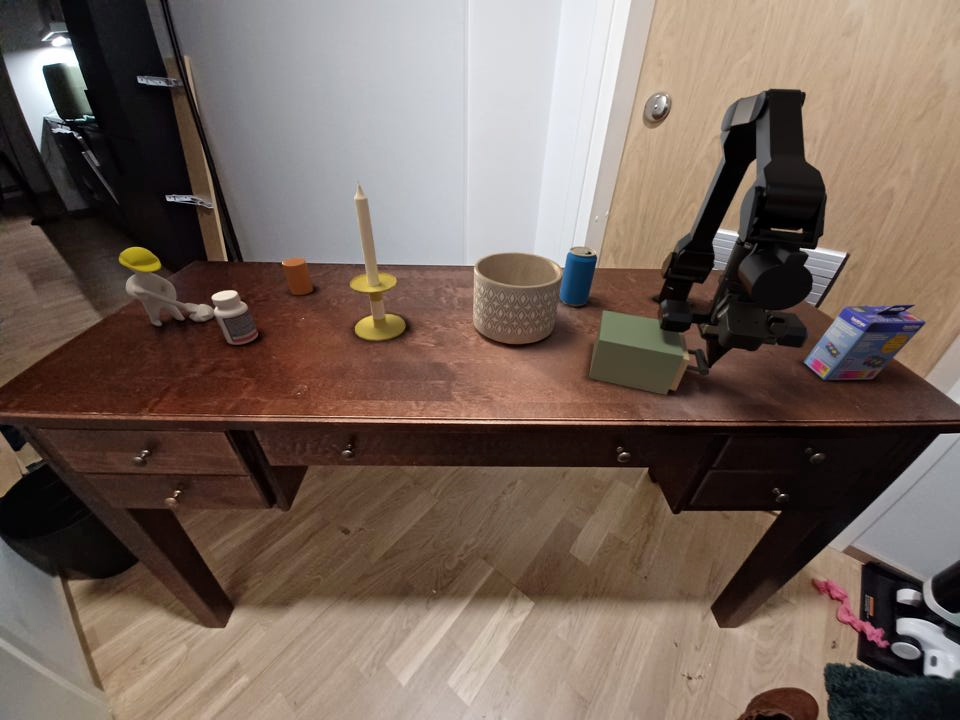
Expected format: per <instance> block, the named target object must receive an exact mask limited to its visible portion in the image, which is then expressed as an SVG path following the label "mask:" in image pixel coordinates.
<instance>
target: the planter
mask: <svg viewBox="0 0 960 720" xmlns="http://www.w3.org/2000/svg"><path fill="white" fill-rule="evenodd" d="M563 274H564V269H562V267H561V266H560V265H559V264H558V263H557V262H556V261H554V260H551V259H550V258H547V257H544V256H541V255H538V254H533V253H526V252H517V251H516V252H514V251H511V252H510V251H509V252H508V251H507V252H498V253H497V252H496V253H492V254H488V255H485V256H483V257H481V258H480V259H478V260H477V261H476V262H475V263H474V267H473V304H472V305H473V307H472V308H473V309H472V323H473V326H474V327H475V329H476V330H477V331H478V332H479V333H480V334H481V335H483V336H485V337H486V338H489V339H491V340H493V341H496V342H499V343H503V344H509V345H525V344H531V343H536V342H538V341H541V340H543V339H545V338H547V337H548V336H550V335H551V333H552V332H553V331H554V327H555V322H556V315H557V311H558V304H559V300H560V291H561V285H562V280H563Z"/></svg>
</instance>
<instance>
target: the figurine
mask: <svg viewBox="0 0 960 720" xmlns="http://www.w3.org/2000/svg"><path fill="white" fill-rule="evenodd" d="M118 262H119V264H121V265H122V266H124V267H126V268H128V270H130V271H132V272H133V273H135V274H133V275H131V276H129V278H128V279H127V280H126V283H125V291H126V293H127V294H128V296H130V297H131V298H132V299H134V300H137V301H140V302H141V303H142V305H143V307H144V308H145V311H146V313H147V315H148V317H149V321H150V323H151V325H154V326H156V327H162V325H163V323H162V322H161V321H160V311H161V309H162V310H165V311H167V312H169V313H170V314H171V315H172V316H173V318H174V319H175V320H178V321H181V322H182V321H185V320H186V318H185V317H184V316H183V314H182V313H181V311H180V309H183V310H184V311H186V312H187V313H190V315H189V316H188V317H189V318H190V319H191V320H192V321H194V322H197V323H199V322H200V323H203V322H207V321H209V320H211V319H212V318H214V317H215V315H214V310H215V308H213V307H212V306H210V305H208V304H205V303H200V304H196V303H191V302H187V303H184V302H180V301H178V300H177V299H178V298H177V291H176V288H175V286H174V285H173V283H172V282H170V281H169V280H168V279H166V278H164V277H162V276H159V275H158V274H155V273H152V272H157V271H160V270H161V268H162V264H161V261H160V259H159V258H158V257H157V256H156V255H155V254H154V253H152V251H150V250H148V249H147V248H144V247H139V246H133V247H128V248H126V249H124V250H123V251H122V252H120V254H119V257H118ZM179 308H180V309H179Z"/></svg>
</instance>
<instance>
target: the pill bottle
mask: <svg viewBox="0 0 960 720" xmlns="http://www.w3.org/2000/svg"><path fill="white" fill-rule="evenodd" d="M211 300H212V303H213V305H214V306H215V308H214V315H215V316H214V317H215V319H216V321H217V323H218V326H219V328H220V330H221V332H222V334H223V336H224V339H225V340H226V342H227V343H228V344H230V345H233V346H241V345H245V344H249V343H251V342H253V341H254V340H255V339H257V338H258V335H259V332H258V329H257V327H256V325H255V321H254V319H253V316H252V314H251V312H250V308H249V306H248V305H247V304H246V303H245V302H244V301H242V300H241V297H240V294H239V292H238V291H236V290H230V289H229V290H222V291H219V292H217V293H214V294H213V295H212V296H211Z"/></svg>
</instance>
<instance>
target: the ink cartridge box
mask: <svg viewBox="0 0 960 720" xmlns="http://www.w3.org/2000/svg"><path fill="white" fill-rule="evenodd" d="M915 306H916V304H893V305H876V306H868V305H857V306H856V305H853V306H852V305H851V306H844V307H843V308H842V310H841V311H840V313H838V315H837V317H835V319H834V321H833V322H832V323H831V325H830V326H829V327H828V328H827V330H826V331H825V332H824V334H823V336H822V337H821V338H820V339H819V341H818V342H817V343H816V345H815V346H814V347H813V349H811V352H810V353H809V354H808V356H807V357H806V358H805V359H804V361H803V364H805V365H806V366H807V367H808V368H809V369H810V370H812V372H814V373H815V374H816V375H817V376H819V377H820V378H821V379H822V380H823V381H858V380H859V381H863V380H865V381H867V380H869V381H870V380H873V379H874V378H876V376H877V375H878V374H879V373H880V372H881V371H882V370H883V369H884V368H885V367H886V366H887V365H888V364H889V363H890V362H891V360H893V359H894V358H895V357H896V355H897V354H899V352H900V351H901V350H902V349H903V348H904V347H905V346H906V345H907V344H908V342H910V340H912V339H913V338H914V336H915V335H917V333H918V332H919V331H920V330H921V329H922V328H923V327H924V325H925V324H927V321H925V320H924V319H922V318H920V317H918V316H917V315H915V314H913V313H911V312H909V311H907V310H909V309H911V308H913V307H915Z"/></svg>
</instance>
